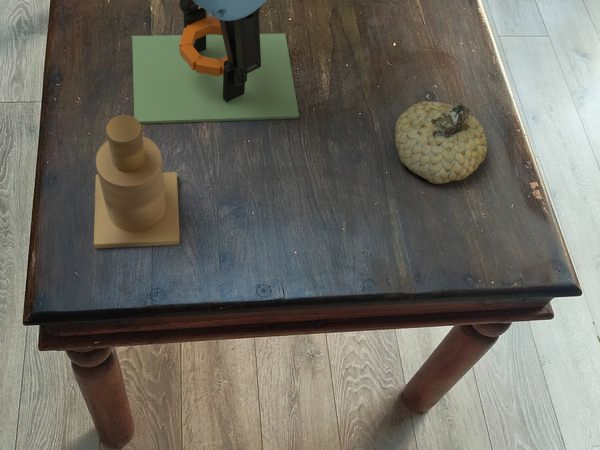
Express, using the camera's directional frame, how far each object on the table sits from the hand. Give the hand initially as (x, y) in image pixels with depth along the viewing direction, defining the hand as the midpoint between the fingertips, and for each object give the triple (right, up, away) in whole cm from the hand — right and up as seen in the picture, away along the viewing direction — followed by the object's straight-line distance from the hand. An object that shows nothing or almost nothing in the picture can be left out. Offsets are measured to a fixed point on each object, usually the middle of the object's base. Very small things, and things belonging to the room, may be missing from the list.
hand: (214, 73), depth 89 cm
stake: (-7, -18, -10) cm, 22 cm away
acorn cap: (+28, -10, -1) cm, 29 cm away
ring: (+1, +2, -4) cm, 5 cm away
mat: (0, 0, +1) cm, 1 cm away
